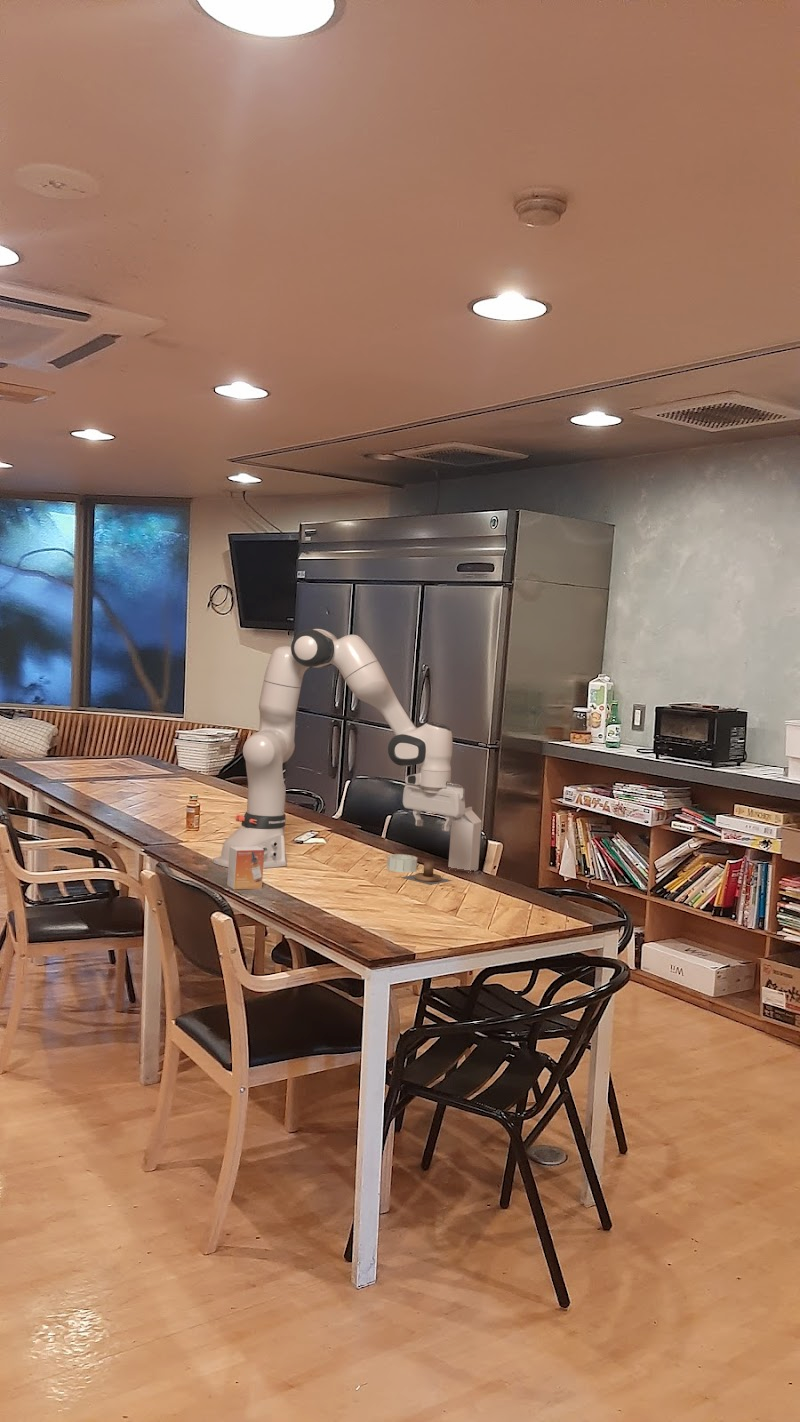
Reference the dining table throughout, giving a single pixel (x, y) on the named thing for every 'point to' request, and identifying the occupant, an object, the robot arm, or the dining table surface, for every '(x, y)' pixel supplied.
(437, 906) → the dining table surface
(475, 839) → the milk carton
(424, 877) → the lid
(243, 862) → the small box
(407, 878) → the mat
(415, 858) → the bowl
